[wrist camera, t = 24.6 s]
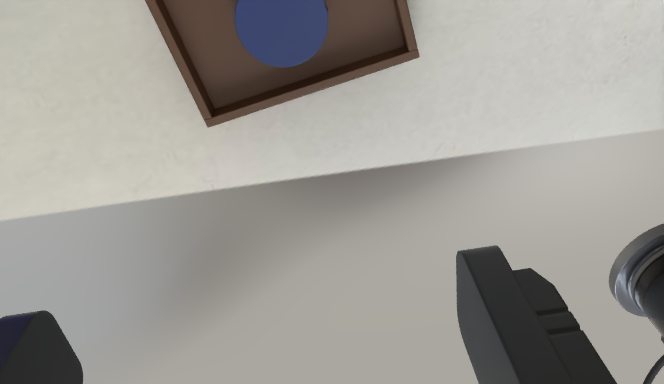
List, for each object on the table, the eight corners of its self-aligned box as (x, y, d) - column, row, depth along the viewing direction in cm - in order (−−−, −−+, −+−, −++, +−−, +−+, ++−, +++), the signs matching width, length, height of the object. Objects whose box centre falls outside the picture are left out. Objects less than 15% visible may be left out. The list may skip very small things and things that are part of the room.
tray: (413, 48, 36) (419, 57, 34) (211, 116, 37) (207, 127, 36) (374, -114, 31) (379, -114, 29) (142, -27, 32) (133, -22, 30)
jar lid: (234, -35, 32) (231, -31, 30) (328, -32, 32) (330, -28, 31) (239, 58, 35) (237, 67, 33) (325, 60, 35) (327, 68, 34)
